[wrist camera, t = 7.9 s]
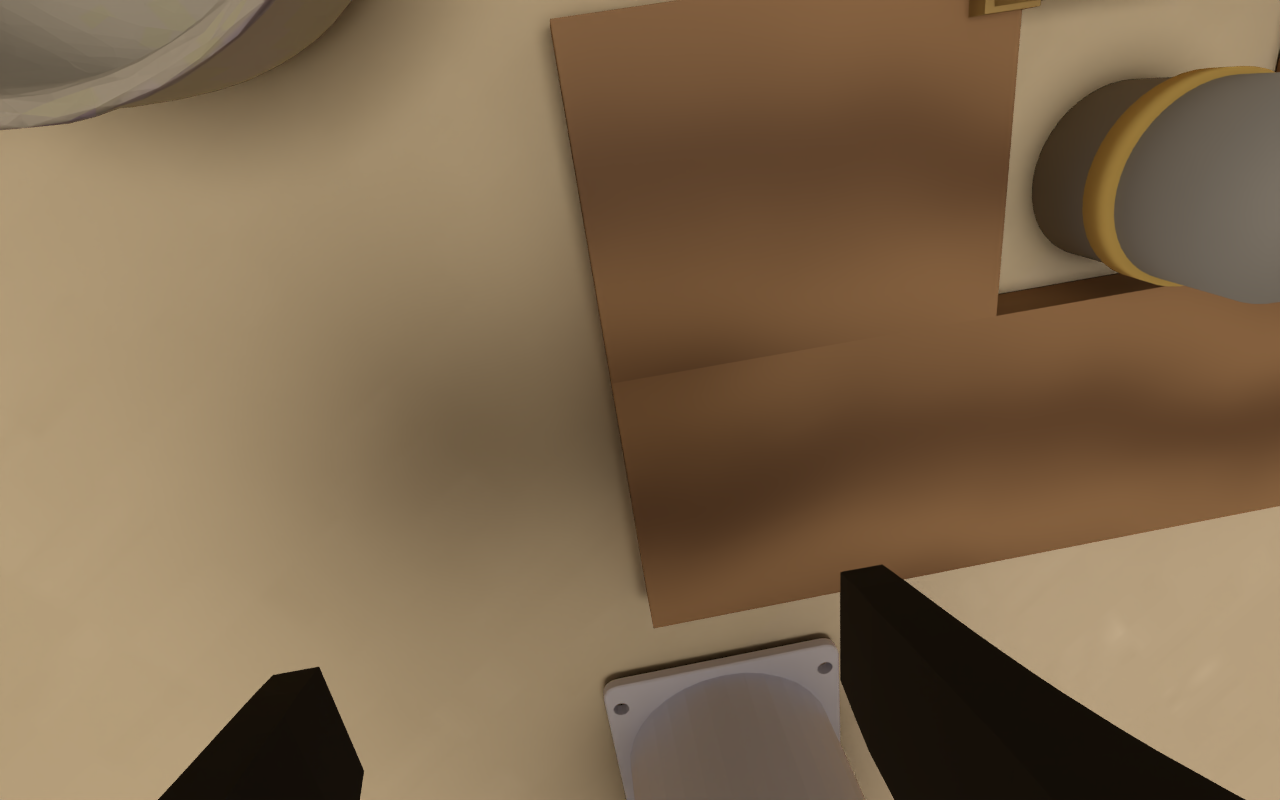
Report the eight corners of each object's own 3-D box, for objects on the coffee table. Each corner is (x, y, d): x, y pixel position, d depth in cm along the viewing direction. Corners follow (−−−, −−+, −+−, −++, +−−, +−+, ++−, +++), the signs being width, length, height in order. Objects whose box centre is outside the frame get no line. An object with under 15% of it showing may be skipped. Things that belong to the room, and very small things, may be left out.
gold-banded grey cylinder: (1222, 67, 17) (1465, 53, 12) (1171, 254, 19) (1366, 302, 14) (1045, 76, 17) (1228, 65, 12) (1011, 266, 18) (1158, 319, 14)
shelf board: (1292, 470, 23) (1375, 511, 20) (647, 594, 21) (658, 653, 19) (1470, -114, 16) (1623, -150, 14) (549, 21, 15) (548, 6, 13)
